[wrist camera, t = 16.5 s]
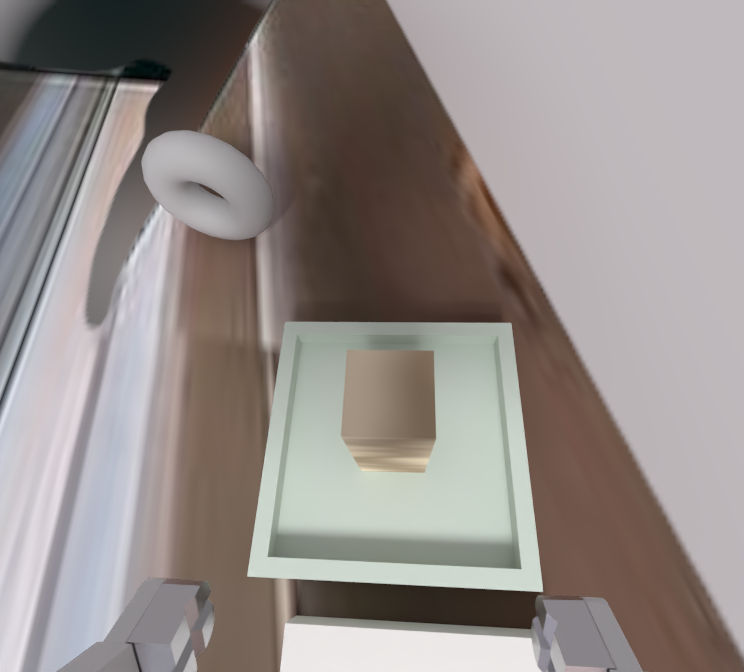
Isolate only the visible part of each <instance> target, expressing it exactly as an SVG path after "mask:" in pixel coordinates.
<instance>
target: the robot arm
mask: <svg viewBox="0 0 744 672" xmlns="http://www.w3.org/2000/svg"><path fill="white" fill-rule="evenodd" d="M210 592H211V591H210V587H209V582H206V581H194V580H181V579H167V578H147V579H146V580H145V581H144V582H143V583H142V584H141V585H140V587H139V588H138V590H137V591H136V593H135V594H134V596H133V597H132V599H131V600H130V602H129V603H128V605H127V606H126V608H125V609H124V611H123V613H122V614H121V616H120V617H119V619H118V620H117V622H116V623H115V625H114V626H113V628H112V629H111V631H110V632H109V634H108V635H107V637H106V638H105V640H104V641H103V642H96V643H95V644H94V645H92V646H91V647H89V648H88V649H87V650H85V651H84V652H83V653H81V654H80V655H79V656H77V657H76V658H75V659H73V660H72V661H70V662H69V663H68V664H66V665H65V666H64V667H62V668H61V669H60V670H58V671H57V672H196V670H197V664H196V659H195V658H196V657H197V656H198V655H199V654H200V653H201V652H202V651H204V650H205V649H206V647H207V644H208V642H209V639H210V637H211V633H212V629H213V624H214V607H213V604H212V603H211V602H210V601H209V600H208V599H207V598H208V596H209V594H210ZM534 607H535V610H536V613H537V616H536V617H535V618H534V619H533V620H532V627H531V637H532V646H533V651H534V656H535V659H536V663H537V667H538V668H539V669H540V670H541V671H542V672H646V671H642V669H641V667H640V665H639V663H638V661H637V659H636V657H635V655H634V653H633V651H632V649H631V648H630V646H629V644H628V642H627V640H626V638H625V636H624V634H623V632H622V630H621V628H620V626H619V624H618V622H617V620H616V618H615V617H614V615H613V613H612V611H611V609H610V607H609V605H608V603H607V602H606V601H605V600H604V599H603V598H594V597H579V596H549V595H538V596H537V597H536V600H535V606H534Z"/></svg>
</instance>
